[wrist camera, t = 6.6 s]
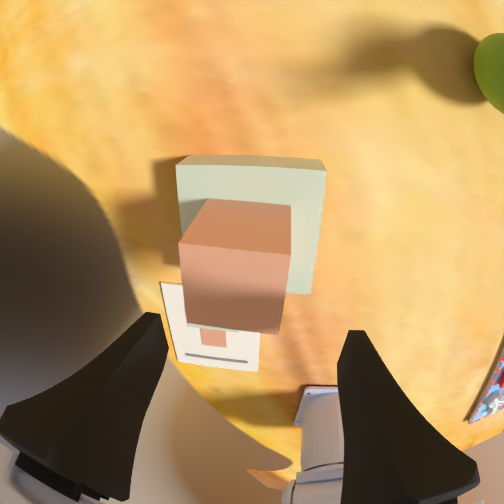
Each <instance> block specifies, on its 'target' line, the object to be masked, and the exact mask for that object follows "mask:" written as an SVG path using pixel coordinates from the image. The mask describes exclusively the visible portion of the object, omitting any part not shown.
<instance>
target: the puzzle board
mask: <svg viewBox="0 0 504 504" xmlns="http://www.w3.org/2000/svg"><path fill="white" fill-rule="evenodd" d="M503 408H504V344H503V346H502V349H501V352H500V354H499V356H498V359H497V361H496V364H495V366H494V368H493V370H492V373H491V375H490V377H489V379H488V381H487V383H486V385H485V387H484V389H483V391H482V393H481V395H480V397H479V399H478V401H477V403H476V405H475V407H474V408H473V410H472V412H471V414H470V416H469V417H468V419H467V420H468V424H471V423H474V422H476V421H478V420H480V419H483V418H485V417H487V416H489V415H491V414H493V413H497V412H498V411H499V410H501V409H503Z"/></svg>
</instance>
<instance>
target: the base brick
mask: <svg viewBox="0 0 504 504" xmlns="http://www.w3.org/2000/svg"><path fill="white" fill-rule="evenodd" d="M175 166H176V180H177V192H178V203H179V214H180V224H181V233H182V237H183V235H184V234H185V232H186V231H187V229H188V228H189V226H190V225H191V223H192V222H193V220H194V219H195V217H196V216H197V214H198V213H199V211H200V210H201V208H202V207H203V205H204V204H205V202H206V201H207V200H208V198H211V199H224V200H236V201H248V202H258V203H269V204H279V205H288V206H291V259H290V266H289V273H288V280H287V286H286V293H294V294H310V293H311V287H312V281H313V275H314V268H315V262H316V255H317V248H318V241H319V234H320V226H321V218H322V210H323V202H324V193H325V184H326V175H327V170H326V168H325V166H324V164H323V162H322V160H315V159H303V158H289V157H272V156H248V155H189V156H187V157H186V158H185V159H183V160H182V161H180V162H179V163H178V164H176V165H175Z"/></svg>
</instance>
